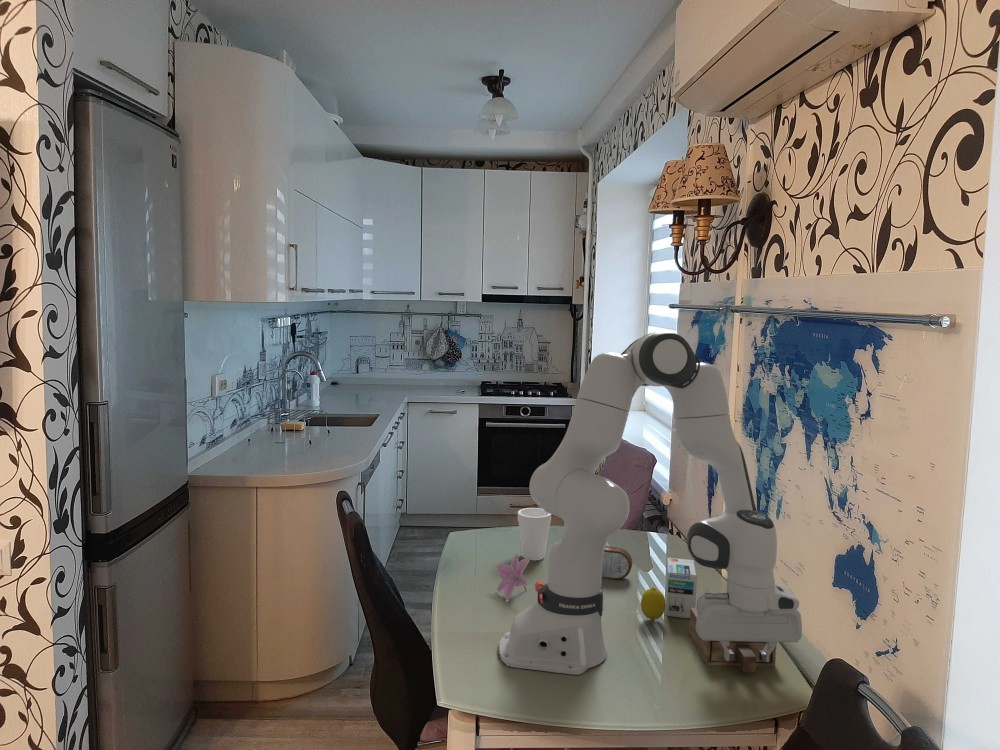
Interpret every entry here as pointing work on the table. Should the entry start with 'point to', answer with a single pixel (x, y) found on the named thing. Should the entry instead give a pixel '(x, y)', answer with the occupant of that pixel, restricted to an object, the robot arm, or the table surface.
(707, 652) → the sleeve
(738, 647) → the tray
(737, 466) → the robot arm
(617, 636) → the table surface
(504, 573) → the lily
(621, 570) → the tin
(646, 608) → the lemon
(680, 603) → the light bulb box
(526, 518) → the foam cup
